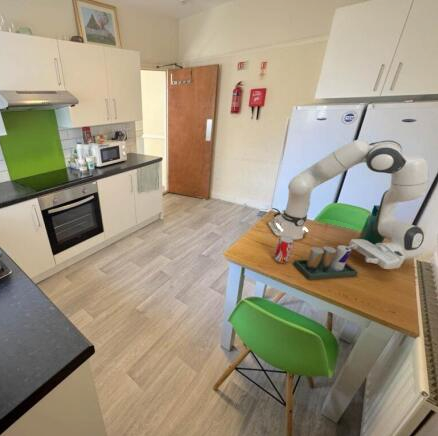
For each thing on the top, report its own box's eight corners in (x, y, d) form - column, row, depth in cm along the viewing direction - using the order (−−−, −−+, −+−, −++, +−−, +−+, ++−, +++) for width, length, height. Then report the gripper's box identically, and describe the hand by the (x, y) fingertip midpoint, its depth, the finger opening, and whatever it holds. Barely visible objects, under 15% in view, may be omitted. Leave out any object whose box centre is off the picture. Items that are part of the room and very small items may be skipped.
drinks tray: (293, 264, 122) (294, 260, 121) (337, 260, 123) (338, 257, 122) (308, 279, 112) (310, 275, 110) (356, 275, 113) (358, 271, 112)
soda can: (270, 255, 129) (276, 235, 123) (284, 255, 128) (290, 235, 122) (276, 264, 122) (282, 242, 116) (291, 263, 122) (297, 242, 116)
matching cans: (302, 267, 119) (308, 247, 113) (323, 265, 119) (330, 245, 114) (308, 273, 114) (316, 253, 109) (330, 272, 115) (339, 251, 109)
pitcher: (380, 249, 130) (399, 213, 120) (361, 246, 133) (378, 211, 123) (373, 241, 138) (389, 206, 128) (355, 238, 141) (370, 204, 131)
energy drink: (344, 272, 115) (353, 251, 109) (332, 271, 116) (340, 250, 110) (339, 265, 119) (347, 245, 114) (327, 264, 120) (335, 244, 115)
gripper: (367, 235, 122) (341, 236, 122) (408, 259, 104) (379, 261, 104) (362, 245, 125) (337, 247, 125) (402, 270, 107) (373, 272, 107)
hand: (356, 253), depth 114 cm, fingers open, 8 cm apart
